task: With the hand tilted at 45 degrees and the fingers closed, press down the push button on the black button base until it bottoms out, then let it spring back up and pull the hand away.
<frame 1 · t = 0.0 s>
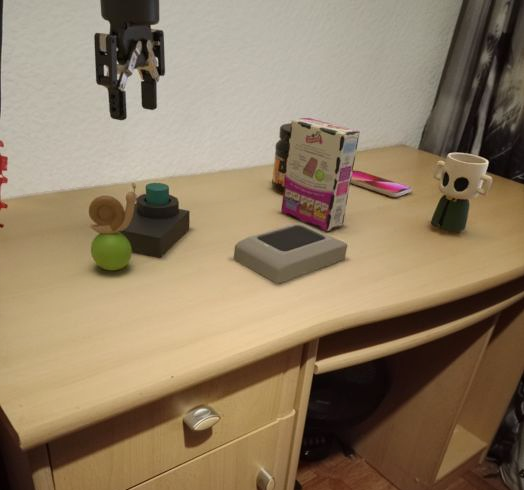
hand: (134, 113, 78), 17 cm above the table, tool pointing down, fingers open, 8 cm apart
grey bevelled block: (290, 260, 84), on the table
push button: (157, 194, 85), point 6 cm above the table, slide at 0.1 cm
black button base: (149, 237, 86), on the table
candy bar box: (311, 220, 99), on the table
character mug: (446, 230, 101), on the table
supplement container: (296, 191, 111), on the table
smartphone: (373, 186, 118), on the table
snail figurine: (116, 269, 76), on the table
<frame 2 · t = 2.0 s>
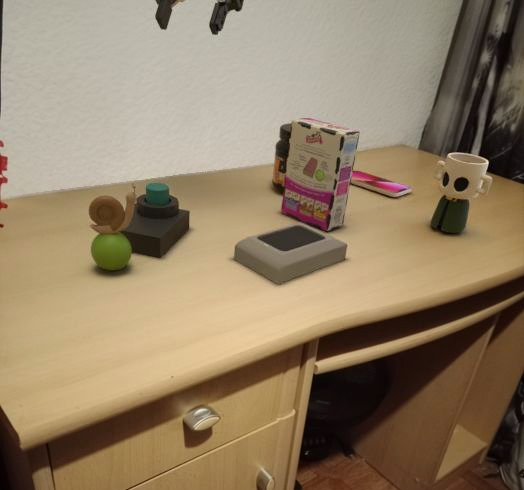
hand: (186, 28, 81), 28 cm above the table, tool tilted 40°, fingers open, 8 cm apart
nothing on the table moved.
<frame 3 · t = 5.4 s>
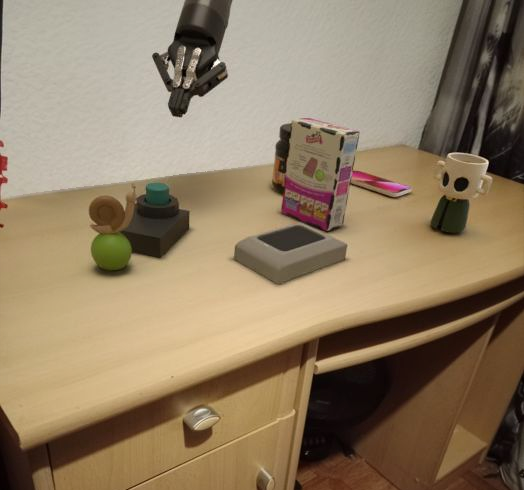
hand: (175, 113, 86), 16 cm above the table, tool tilted 45°, fingers closed
nothing on the table moved.
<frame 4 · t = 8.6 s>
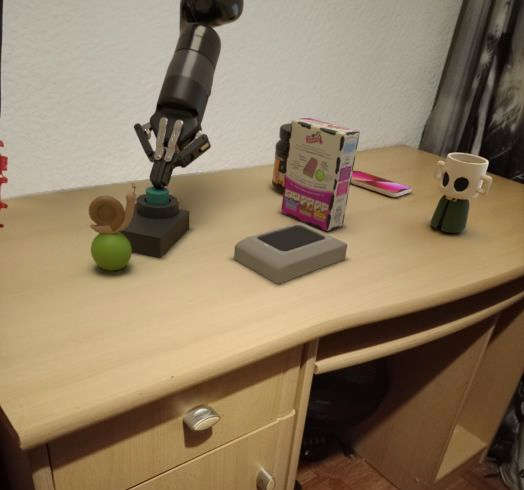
hand: (157, 186, 85), 7 cm above the table, tool tilted 45°, fingers closed
push button: (157, 198, 86), point 5 cm above the table, slide at -0.5 cm, touching gripper
everything else where it was.
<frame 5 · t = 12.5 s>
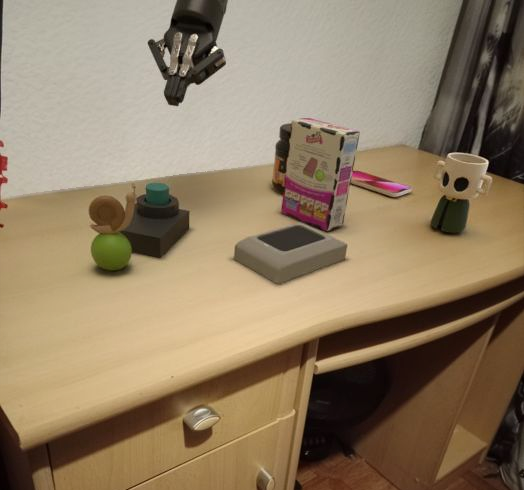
hand: (171, 102, 83), 18 cm above the table, tool tilted 45°, fingers closed
push button: (157, 194, 85), point 6 cm above the table, slide at 0.1 cm
everything else where it was.
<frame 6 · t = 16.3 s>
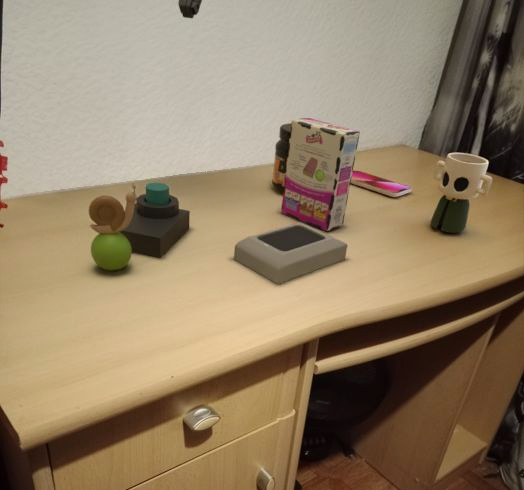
hand: (186, 13, 81), 30 cm above the table, tool tilted 45°, fingers closed
nothing on the table moved.
at the end: push button pushed in 1.3 cm at the most during the clip, back to where it started at the end; push button slide at 0.1 cm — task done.
